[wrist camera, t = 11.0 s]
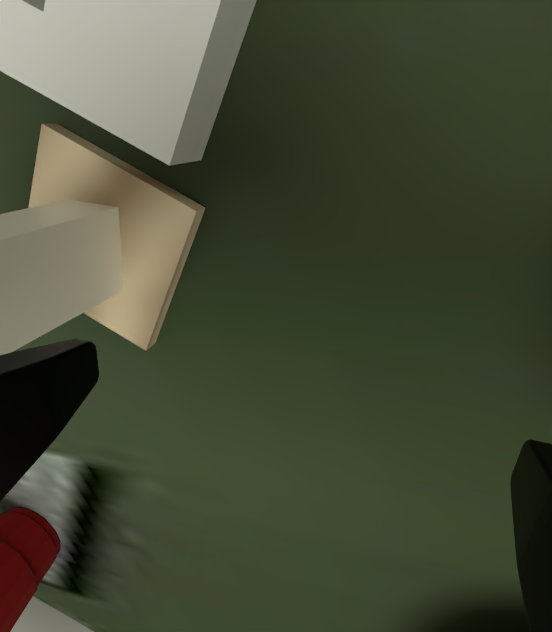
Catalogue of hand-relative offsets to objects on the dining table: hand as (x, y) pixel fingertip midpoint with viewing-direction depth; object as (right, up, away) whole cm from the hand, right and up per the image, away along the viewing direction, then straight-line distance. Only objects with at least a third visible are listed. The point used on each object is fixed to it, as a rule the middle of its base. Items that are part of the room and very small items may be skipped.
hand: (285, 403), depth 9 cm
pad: (-9, +6, +16) cm, 19 cm away
